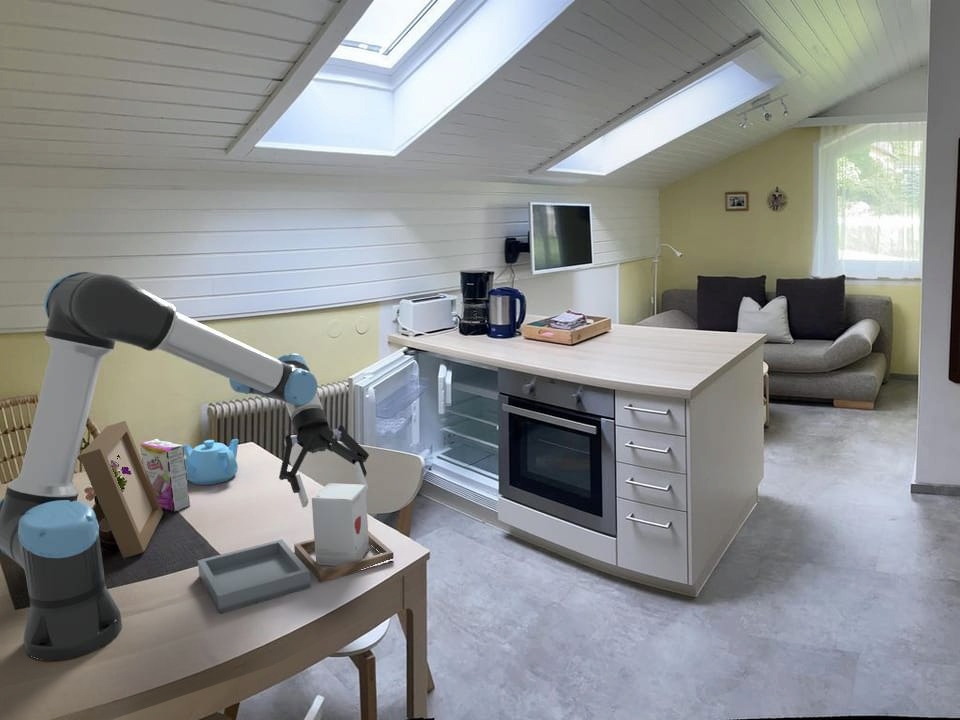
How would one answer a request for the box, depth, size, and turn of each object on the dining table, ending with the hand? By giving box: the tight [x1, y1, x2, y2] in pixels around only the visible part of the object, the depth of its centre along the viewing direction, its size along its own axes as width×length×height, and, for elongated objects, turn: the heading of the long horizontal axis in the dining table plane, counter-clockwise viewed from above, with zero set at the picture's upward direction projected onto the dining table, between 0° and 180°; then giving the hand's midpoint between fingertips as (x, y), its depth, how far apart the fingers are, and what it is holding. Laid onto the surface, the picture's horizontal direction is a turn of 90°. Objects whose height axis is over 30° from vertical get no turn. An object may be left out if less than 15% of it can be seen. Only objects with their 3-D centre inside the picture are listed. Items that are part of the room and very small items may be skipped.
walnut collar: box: [293, 530, 395, 583], centre depth 161 cm, size 16×16×2 cm
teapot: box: [182, 438, 239, 486], centre depth 210 cm, size 15×15×11 cm
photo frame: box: [78, 420, 164, 559], centre depth 170 cm, size 15×22×25 cm
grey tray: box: [197, 539, 311, 614], centre depth 151 cm, size 17×17×4 cm
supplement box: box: [311, 482, 370, 567], centre depth 159 cm, size 9×9×15 cm
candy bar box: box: [139, 438, 191, 513], centre depth 190 cm, size 11×5×16 cm, turn 58°
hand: (336, 497), depth 164 cm, fingers open, 13 cm apart
